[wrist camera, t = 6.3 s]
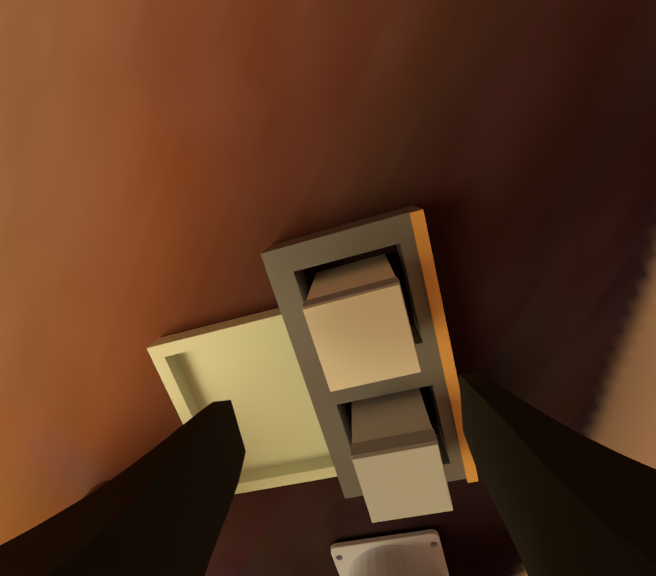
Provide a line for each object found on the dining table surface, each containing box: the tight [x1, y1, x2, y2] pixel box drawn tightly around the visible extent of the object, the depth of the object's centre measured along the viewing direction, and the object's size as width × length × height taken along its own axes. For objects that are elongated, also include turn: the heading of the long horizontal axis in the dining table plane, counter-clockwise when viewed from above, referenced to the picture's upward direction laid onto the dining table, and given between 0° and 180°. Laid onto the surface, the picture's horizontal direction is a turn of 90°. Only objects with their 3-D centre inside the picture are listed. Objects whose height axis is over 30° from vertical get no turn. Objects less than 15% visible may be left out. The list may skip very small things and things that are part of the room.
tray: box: [147, 308, 337, 494], centre depth 22 cm, size 12×10×1 cm
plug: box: [302, 254, 421, 392], centre depth 17 cm, size 4×4×6 cm
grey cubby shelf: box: [261, 205, 478, 499], centre depth 20 cm, size 16×8×3 cm, turn 16°
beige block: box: [351, 388, 453, 523], centre depth 19 cm, size 4×4×6 cm
